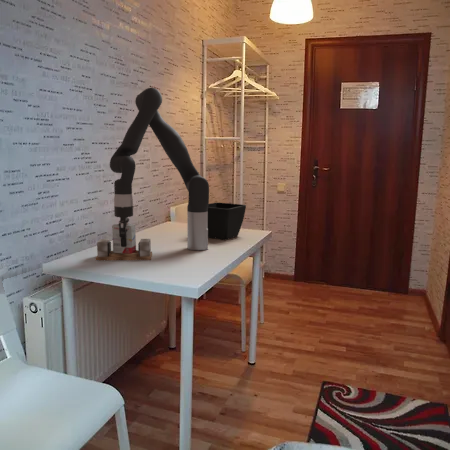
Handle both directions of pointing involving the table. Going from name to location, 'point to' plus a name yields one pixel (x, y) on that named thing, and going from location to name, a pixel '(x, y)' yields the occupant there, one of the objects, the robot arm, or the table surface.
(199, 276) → the table surface
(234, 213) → the flower pot
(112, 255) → the rail
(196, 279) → the table surface
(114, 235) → the ink box
